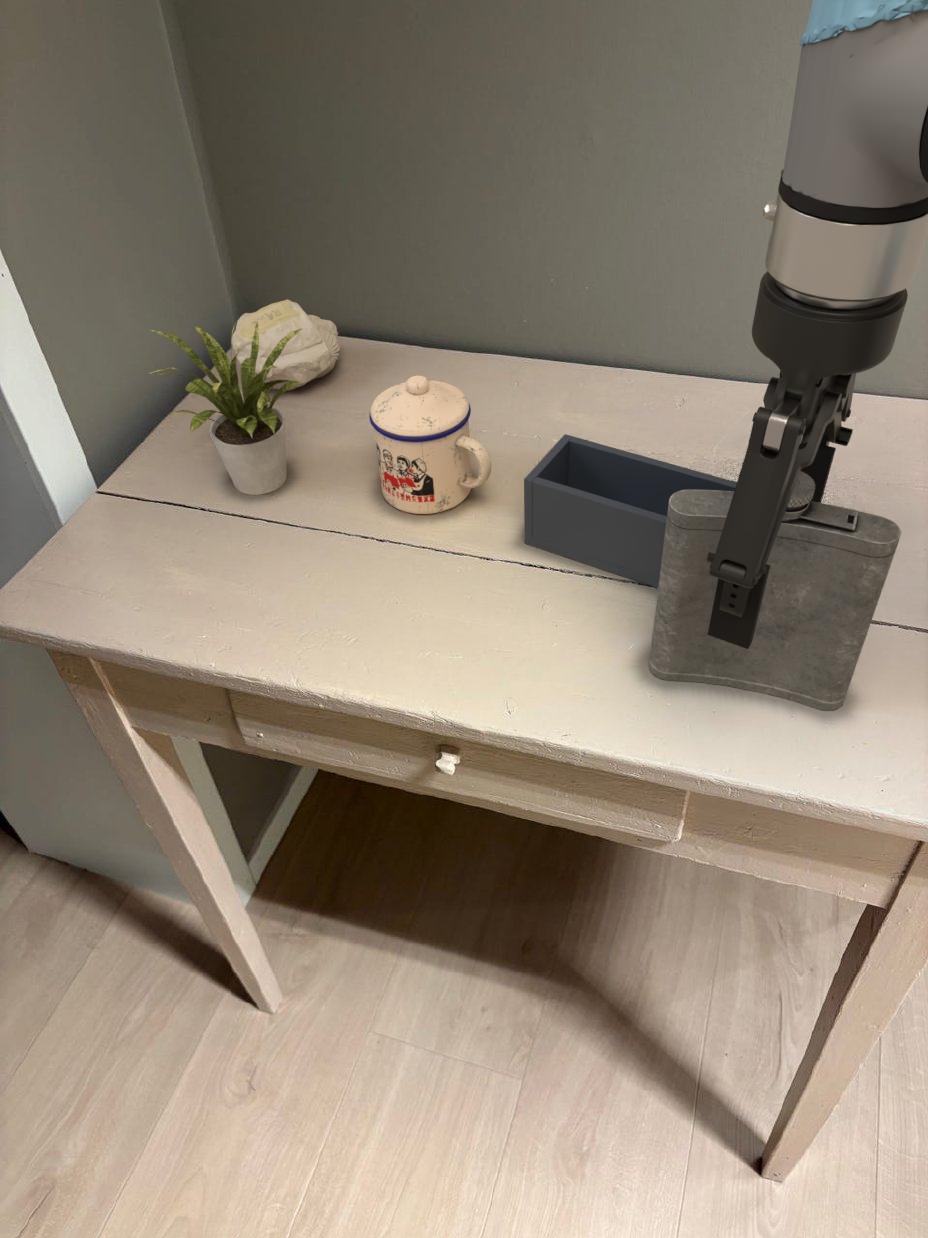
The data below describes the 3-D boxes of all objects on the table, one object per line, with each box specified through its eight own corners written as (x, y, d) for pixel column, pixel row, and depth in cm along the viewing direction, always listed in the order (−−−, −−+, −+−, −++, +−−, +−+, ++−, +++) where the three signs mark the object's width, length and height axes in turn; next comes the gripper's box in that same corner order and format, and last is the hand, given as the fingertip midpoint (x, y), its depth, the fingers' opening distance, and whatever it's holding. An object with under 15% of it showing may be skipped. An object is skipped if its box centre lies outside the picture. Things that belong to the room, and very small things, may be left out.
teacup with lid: (360, 497, 91) (343, 389, 83) (419, 450, 96) (408, 344, 88) (461, 540, 86) (454, 429, 78) (518, 489, 91) (517, 379, 83)
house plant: (147, 514, 91) (92, 358, 80) (212, 434, 100) (171, 284, 89) (285, 534, 88) (248, 374, 76) (339, 449, 97) (313, 296, 86)
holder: (746, 554, 83) (759, 488, 78) (714, 607, 78) (726, 541, 73) (563, 497, 90) (564, 433, 85) (524, 543, 85) (523, 478, 80)
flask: (653, 643, 75) (677, 451, 63) (845, 678, 72) (910, 482, 59) (645, 676, 73) (669, 483, 61) (843, 714, 69) (911, 517, 57)
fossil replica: (362, 361, 110) (288, 355, 114) (349, 289, 105) (273, 285, 109) (307, 407, 102) (230, 399, 106) (291, 332, 97) (211, 325, 100)
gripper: (831, 184, 60) (770, 465, 74) (678, 370, 45) (639, 674, 60) (959, 204, 57) (868, 493, 72) (840, 410, 42) (757, 720, 57)
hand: (764, 576), depth 66 cm, fingers open, 13 cm apart
